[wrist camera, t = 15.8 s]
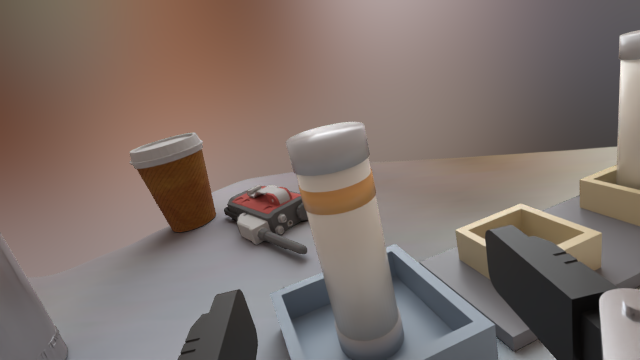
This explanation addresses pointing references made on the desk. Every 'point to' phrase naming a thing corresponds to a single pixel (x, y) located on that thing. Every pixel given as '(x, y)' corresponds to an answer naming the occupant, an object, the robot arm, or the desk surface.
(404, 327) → the tray
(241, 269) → the desk surface
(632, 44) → the cylinder
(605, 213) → the fuse block
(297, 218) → the walkie-talkie
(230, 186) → the desk surface
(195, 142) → the disposable coffee cup
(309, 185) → the cylinder
